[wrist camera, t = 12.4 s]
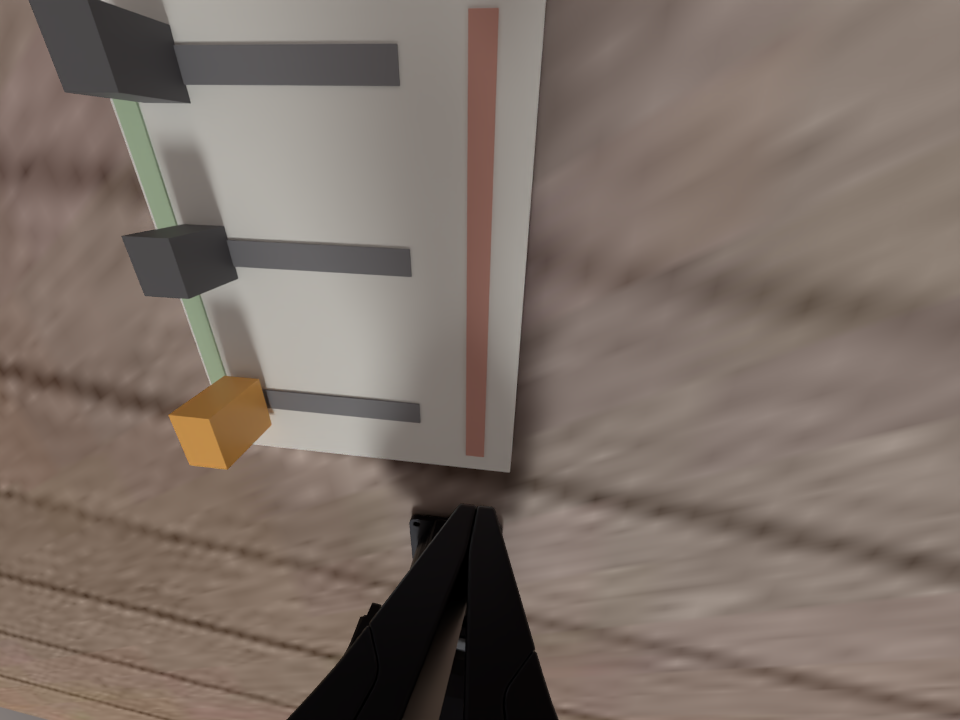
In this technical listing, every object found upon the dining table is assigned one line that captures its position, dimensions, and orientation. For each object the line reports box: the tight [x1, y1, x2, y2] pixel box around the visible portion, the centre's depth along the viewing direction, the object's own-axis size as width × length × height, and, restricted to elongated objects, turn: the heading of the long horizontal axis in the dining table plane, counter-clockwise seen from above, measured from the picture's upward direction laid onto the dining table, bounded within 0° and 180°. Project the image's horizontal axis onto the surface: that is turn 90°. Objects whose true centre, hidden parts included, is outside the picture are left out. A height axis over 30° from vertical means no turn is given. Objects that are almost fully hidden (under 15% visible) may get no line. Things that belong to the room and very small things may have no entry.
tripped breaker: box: [169, 376, 272, 470], centre depth 20 cm, size 3×2×4 cm, turn 179°
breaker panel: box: [29, 0, 546, 473], centre depth 18 cm, size 21×17×5 cm
